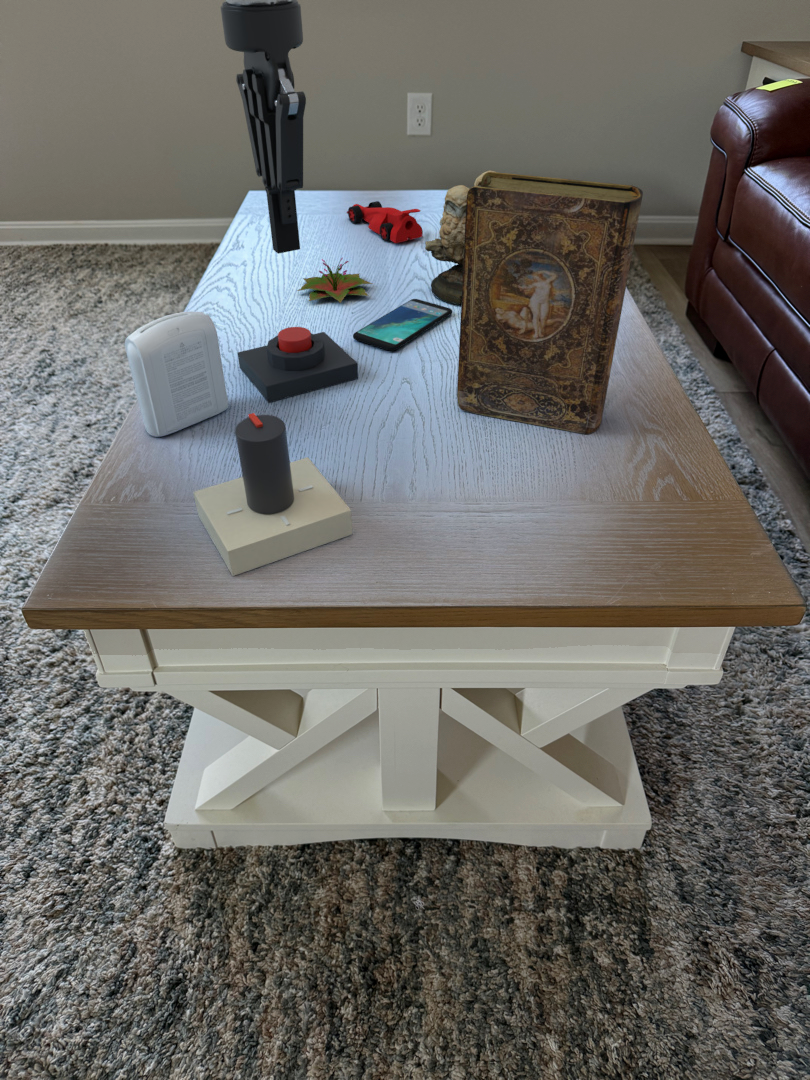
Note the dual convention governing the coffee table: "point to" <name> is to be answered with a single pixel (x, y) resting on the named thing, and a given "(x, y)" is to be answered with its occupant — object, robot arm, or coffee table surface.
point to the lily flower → (334, 284)
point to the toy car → (387, 221)
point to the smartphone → (402, 324)
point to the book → (543, 297)
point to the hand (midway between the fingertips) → (286, 249)
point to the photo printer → (177, 371)
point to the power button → (294, 339)
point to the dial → (265, 463)
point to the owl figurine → (451, 244)
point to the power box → (297, 367)
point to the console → (273, 520)
